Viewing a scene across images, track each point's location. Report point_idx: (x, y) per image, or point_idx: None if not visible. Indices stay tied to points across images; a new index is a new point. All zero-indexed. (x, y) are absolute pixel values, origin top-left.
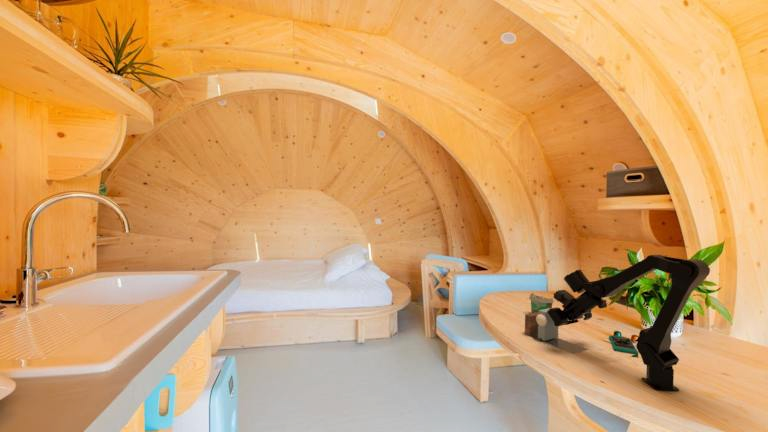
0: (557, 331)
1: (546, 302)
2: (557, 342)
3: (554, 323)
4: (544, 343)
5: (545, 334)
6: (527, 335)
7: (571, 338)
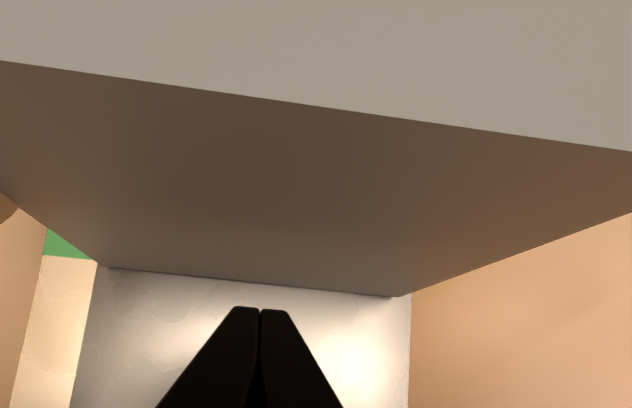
0: (407, 285)
1: None
2: None
3: (221, 324)
4: (34, 305)
5: (98, 250)
6: None
7: (618, 344)
